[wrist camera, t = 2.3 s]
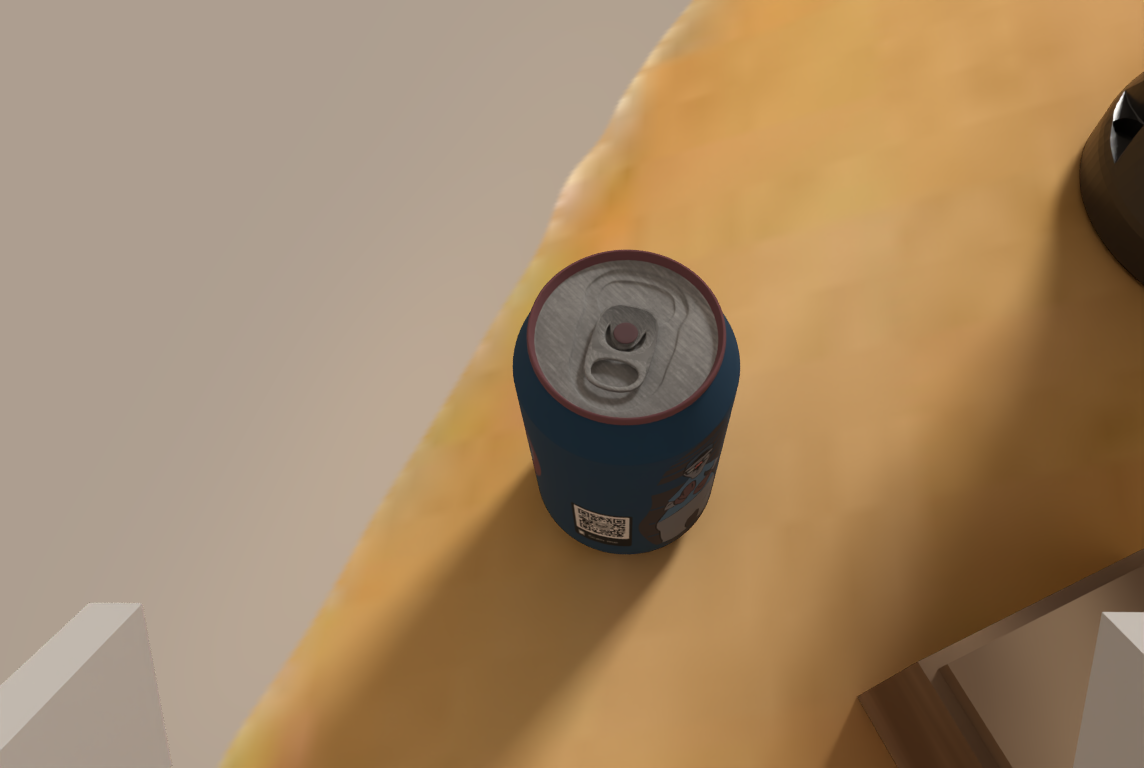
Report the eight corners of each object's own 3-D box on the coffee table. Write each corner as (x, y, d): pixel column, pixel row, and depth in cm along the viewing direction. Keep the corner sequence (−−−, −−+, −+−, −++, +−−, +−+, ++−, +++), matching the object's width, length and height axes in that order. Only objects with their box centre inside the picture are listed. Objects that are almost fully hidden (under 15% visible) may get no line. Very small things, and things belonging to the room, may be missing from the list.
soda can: (567, 388, 38) (545, 213, 27) (725, 425, 36) (768, 257, 26) (518, 538, 35) (472, 407, 24) (689, 584, 33) (720, 468, 23)
